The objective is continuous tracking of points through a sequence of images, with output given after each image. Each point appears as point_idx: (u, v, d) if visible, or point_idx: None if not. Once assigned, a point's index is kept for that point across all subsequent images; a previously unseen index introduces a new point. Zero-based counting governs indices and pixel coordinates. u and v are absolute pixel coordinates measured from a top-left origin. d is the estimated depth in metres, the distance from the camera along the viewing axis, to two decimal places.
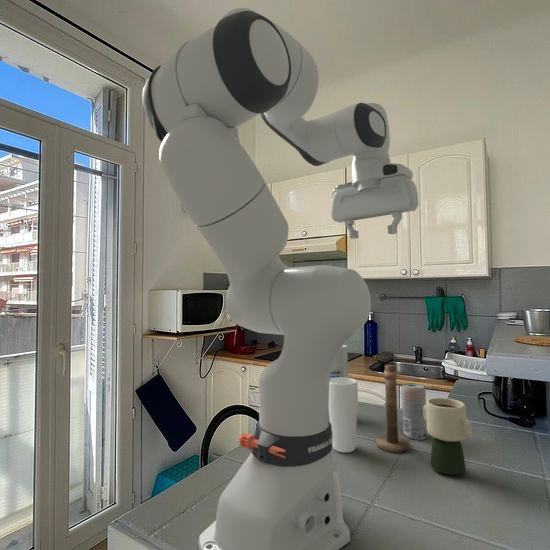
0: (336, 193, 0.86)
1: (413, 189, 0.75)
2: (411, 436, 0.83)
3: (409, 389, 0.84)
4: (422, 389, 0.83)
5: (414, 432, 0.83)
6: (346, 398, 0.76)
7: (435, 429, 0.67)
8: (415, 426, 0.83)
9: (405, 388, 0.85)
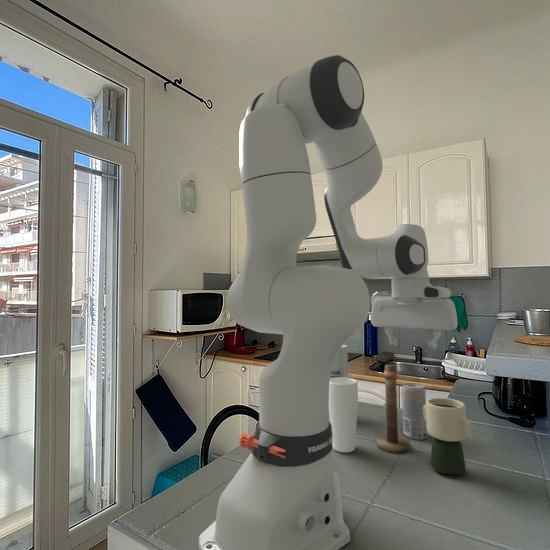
0: (376, 301, 0.91)
1: (453, 312, 0.80)
2: (411, 436, 0.83)
3: (409, 389, 0.84)
4: (422, 389, 0.83)
5: (414, 432, 0.83)
6: (346, 398, 0.76)
7: (435, 429, 0.67)
8: (415, 426, 0.83)
9: (405, 388, 0.85)
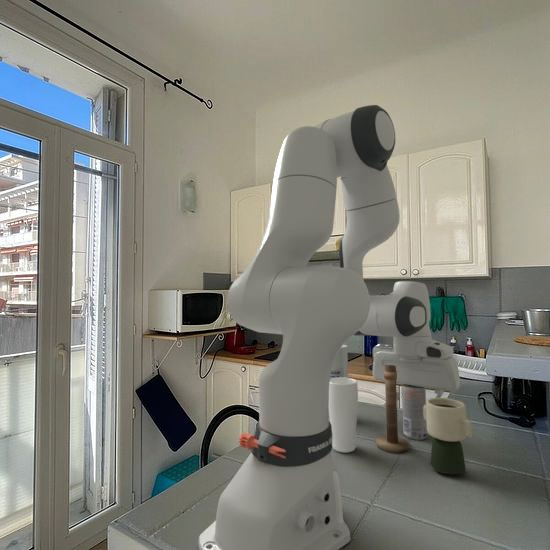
0: (377, 354, 0.90)
1: (456, 372, 0.79)
2: (411, 436, 0.83)
3: (409, 389, 0.84)
4: (422, 389, 0.83)
5: (414, 432, 0.83)
6: (346, 398, 0.76)
7: (434, 429, 0.67)
8: (415, 426, 0.83)
9: (405, 388, 0.85)
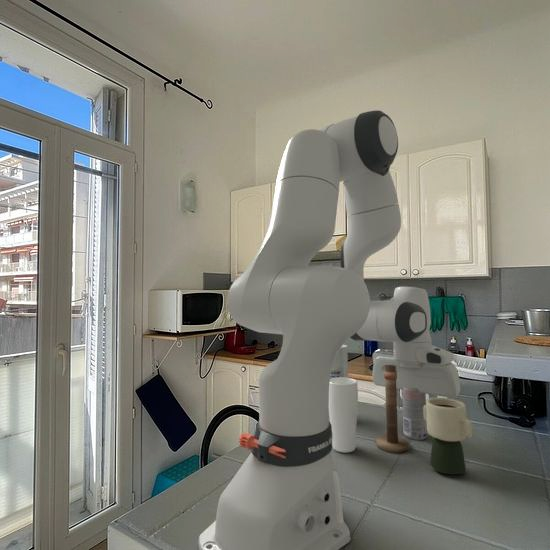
0: (377, 359, 0.90)
1: (456, 379, 0.79)
2: (411, 436, 0.83)
3: (409, 389, 0.84)
4: None
5: (414, 432, 0.83)
6: (346, 398, 0.76)
7: (435, 429, 0.67)
8: (415, 426, 0.83)
9: (405, 388, 0.85)
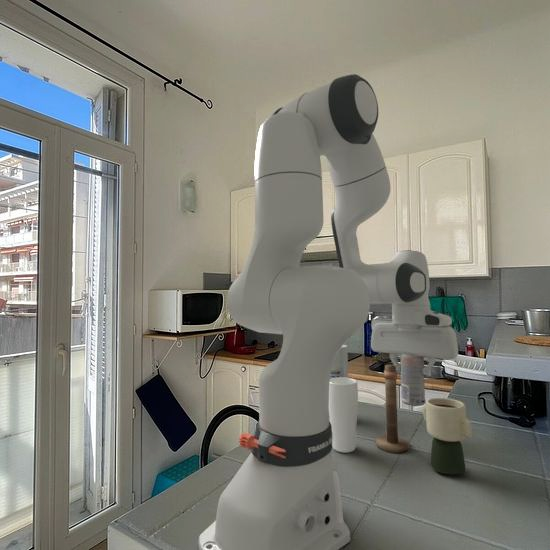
0: (376, 326, 0.90)
1: (454, 340, 0.79)
2: (409, 402, 0.83)
3: (407, 355, 0.84)
4: None
5: (412, 398, 0.83)
6: (346, 398, 0.76)
7: (434, 429, 0.67)
8: (413, 392, 0.83)
9: (403, 355, 0.85)
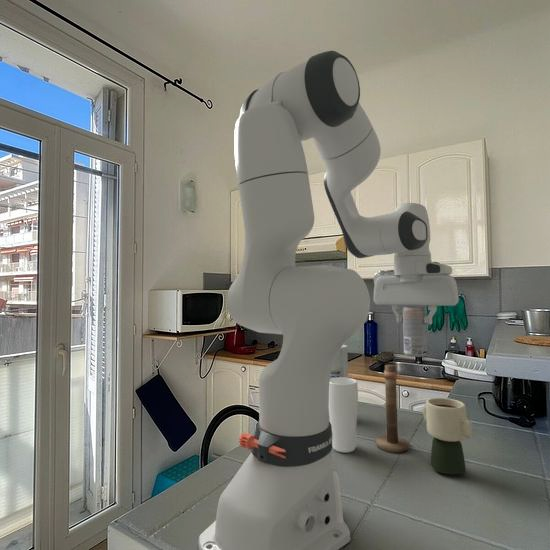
0: (378, 279, 0.93)
1: (454, 287, 0.82)
2: (411, 353, 0.85)
3: (409, 308, 0.86)
4: (422, 308, 0.86)
5: (414, 349, 0.85)
6: (346, 398, 0.76)
7: (434, 429, 0.67)
8: (415, 344, 0.85)
9: (405, 308, 0.87)
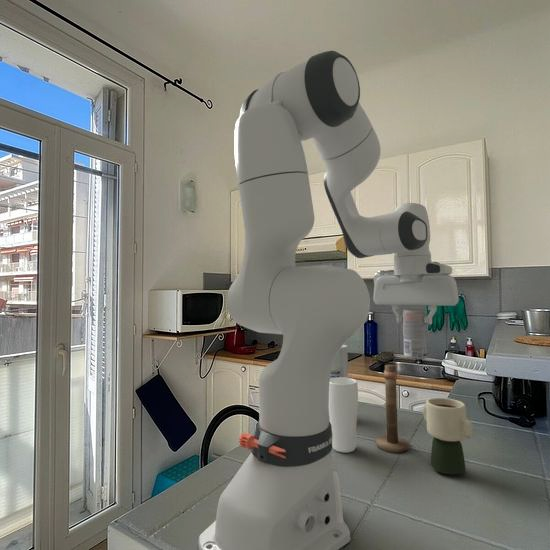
0: (378, 279, 0.93)
1: (454, 287, 0.82)
2: (412, 356, 0.85)
3: (410, 311, 0.86)
4: (422, 311, 0.86)
5: (414, 351, 0.85)
6: (346, 398, 0.76)
7: (435, 429, 0.67)
8: (415, 346, 0.85)
9: (406, 311, 0.87)
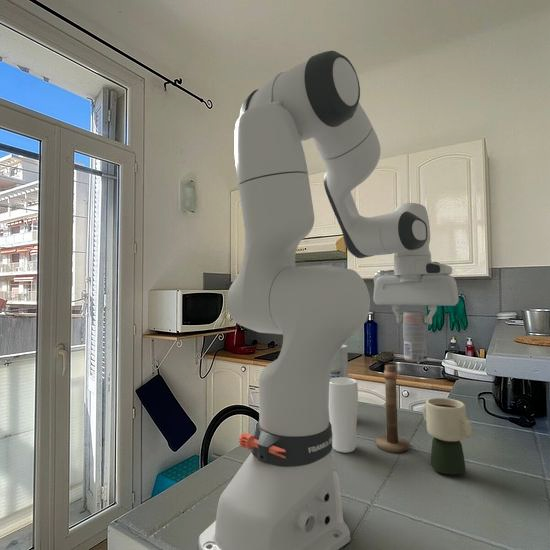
0: (378, 279, 0.93)
1: (454, 287, 0.82)
2: (412, 358, 0.85)
3: (410, 314, 0.86)
4: (422, 313, 0.86)
5: (414, 354, 0.85)
6: (346, 398, 0.76)
7: (434, 429, 0.67)
8: (415, 349, 0.85)
9: (406, 313, 0.87)
